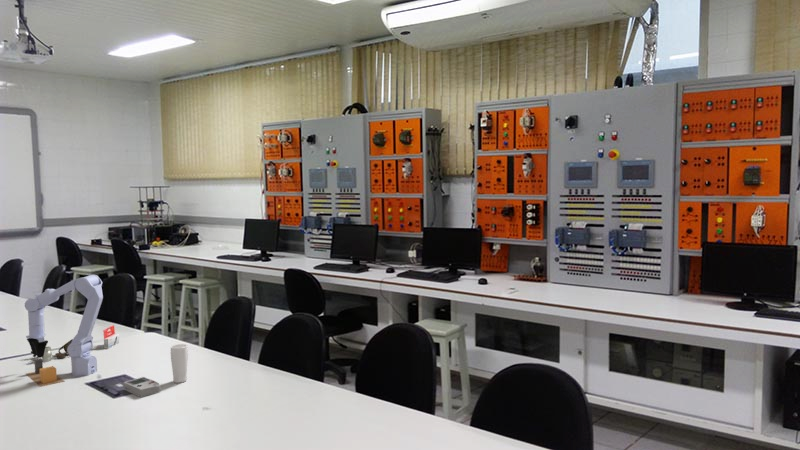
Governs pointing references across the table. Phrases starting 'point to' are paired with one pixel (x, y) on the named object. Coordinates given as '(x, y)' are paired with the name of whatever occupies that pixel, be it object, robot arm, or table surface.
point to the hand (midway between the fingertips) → (38, 355)
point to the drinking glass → (179, 362)
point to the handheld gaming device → (142, 386)
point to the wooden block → (36, 375)
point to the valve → (45, 354)
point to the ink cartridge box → (110, 338)
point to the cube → (48, 374)
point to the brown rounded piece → (62, 355)
